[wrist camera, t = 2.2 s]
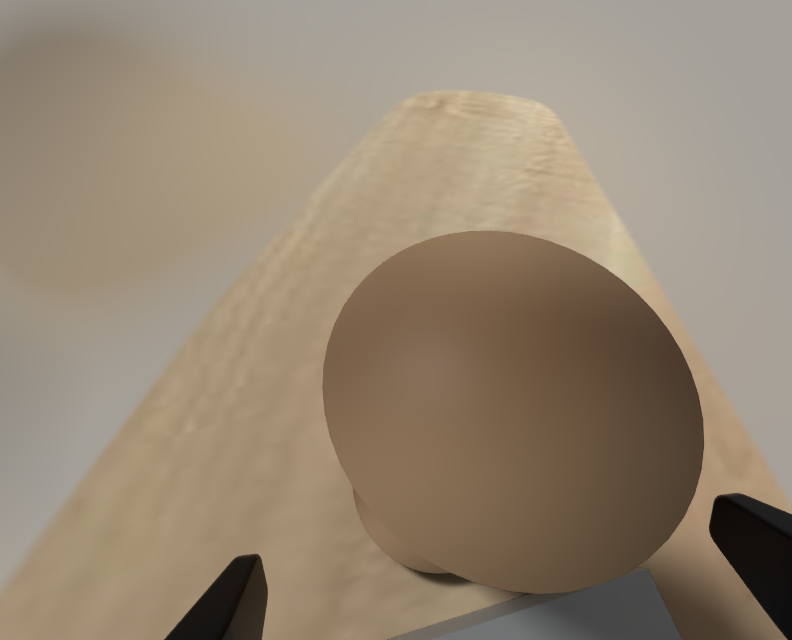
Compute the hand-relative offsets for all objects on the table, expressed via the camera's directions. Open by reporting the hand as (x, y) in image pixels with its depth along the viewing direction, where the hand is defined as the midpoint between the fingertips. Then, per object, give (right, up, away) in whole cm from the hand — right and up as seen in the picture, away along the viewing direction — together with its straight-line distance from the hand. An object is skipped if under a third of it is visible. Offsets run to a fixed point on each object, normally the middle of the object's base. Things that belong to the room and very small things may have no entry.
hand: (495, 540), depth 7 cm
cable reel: (0, -3, +10) cm, 10 cm away
